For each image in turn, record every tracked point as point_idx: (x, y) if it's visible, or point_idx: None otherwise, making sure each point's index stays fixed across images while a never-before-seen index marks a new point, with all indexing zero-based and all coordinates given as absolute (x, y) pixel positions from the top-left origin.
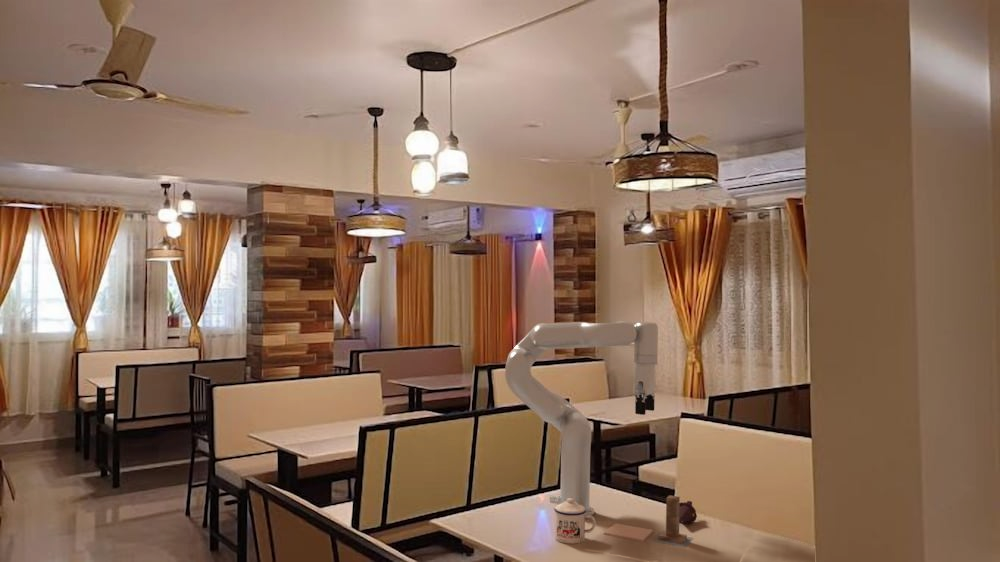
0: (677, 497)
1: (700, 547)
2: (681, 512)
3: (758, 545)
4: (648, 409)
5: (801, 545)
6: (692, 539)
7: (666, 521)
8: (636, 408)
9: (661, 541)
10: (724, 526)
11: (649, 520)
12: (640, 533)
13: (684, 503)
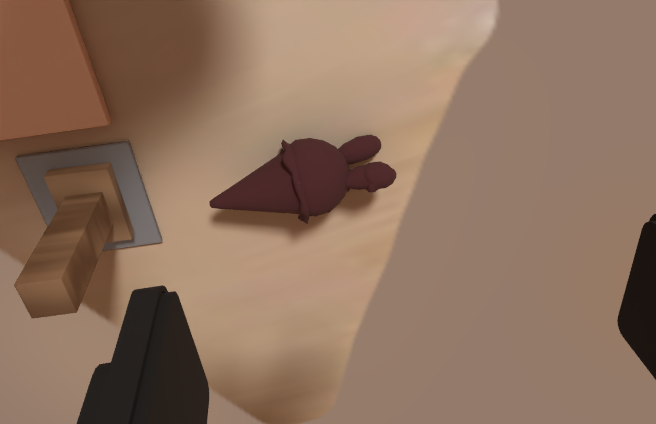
0: (61, 310)
1: (111, 275)
2: (242, 199)
3: (250, 359)
4: (634, 276)
5: (321, 411)
6: (145, 244)
7: (48, 226)
8: (122, 370)
9: (41, 185)
10: (354, 257)
11: (244, 43)
12: (30, 106)
13: (300, 199)
